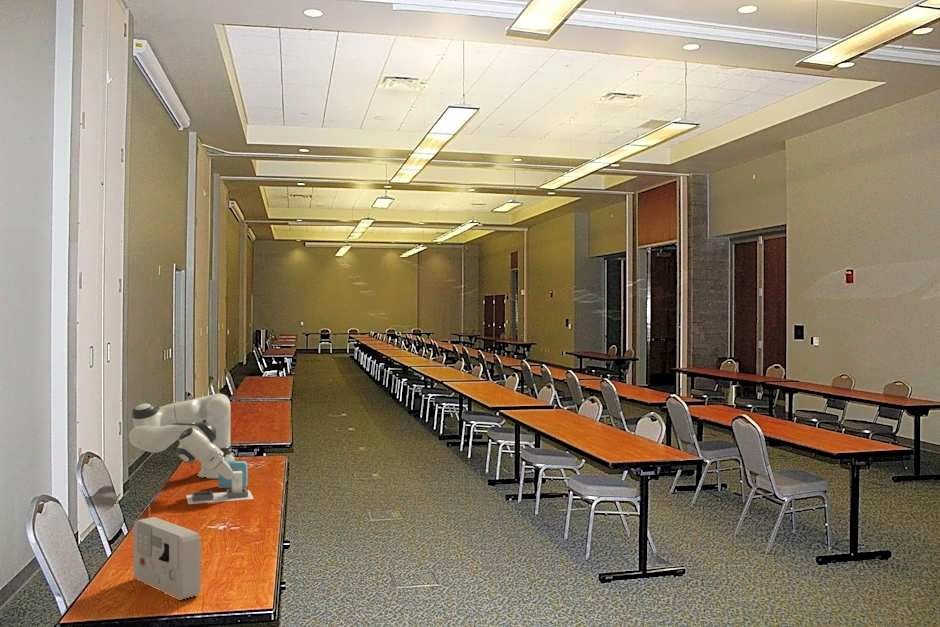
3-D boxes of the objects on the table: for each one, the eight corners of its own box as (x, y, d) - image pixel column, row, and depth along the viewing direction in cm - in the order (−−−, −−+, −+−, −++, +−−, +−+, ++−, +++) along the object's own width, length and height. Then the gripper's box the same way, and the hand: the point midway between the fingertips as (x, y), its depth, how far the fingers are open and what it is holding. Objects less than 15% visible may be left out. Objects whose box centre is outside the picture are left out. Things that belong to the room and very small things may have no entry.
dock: (186, 497, 328) (186, 490, 328) (249, 492, 338) (249, 485, 338) (188, 506, 313) (188, 499, 313) (253, 501, 323) (254, 493, 323)
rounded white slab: (125, 581, 228) (125, 520, 228) (150, 574, 234) (150, 515, 234) (175, 605, 210) (175, 539, 210) (200, 597, 216) (201, 533, 215)
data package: (247, 487, 348) (247, 460, 348) (246, 489, 344) (246, 462, 344) (219, 487, 346) (220, 461, 346) (218, 490, 342) (218, 463, 342)
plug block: (231, 494, 330) (231, 471, 330) (241, 494, 331) (241, 470, 331) (232, 497, 326) (232, 473, 326) (242, 496, 327) (242, 472, 327)
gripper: (205, 459, 333) (229, 480, 337) (209, 468, 314) (233, 490, 318) (216, 448, 335) (239, 469, 339) (220, 456, 316) (245, 478, 320)
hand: (237, 479), depth 328 cm, fingers open, 8 cm apart
